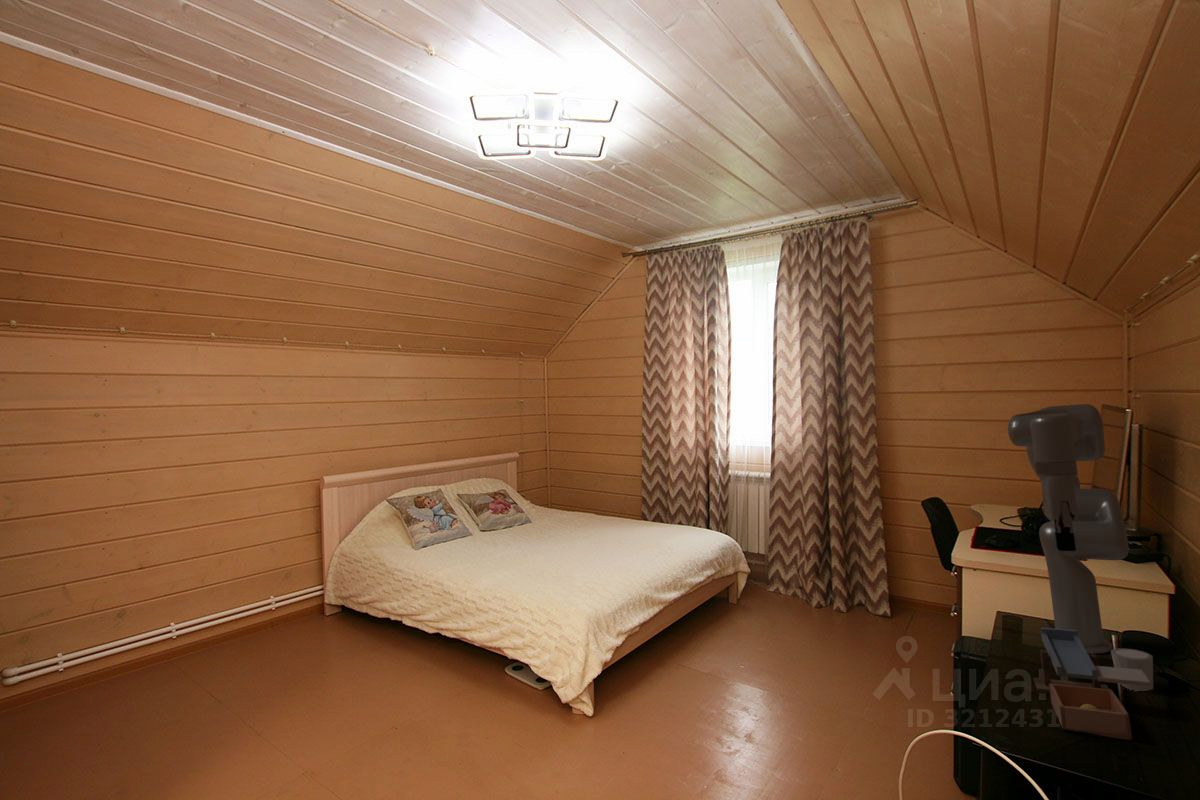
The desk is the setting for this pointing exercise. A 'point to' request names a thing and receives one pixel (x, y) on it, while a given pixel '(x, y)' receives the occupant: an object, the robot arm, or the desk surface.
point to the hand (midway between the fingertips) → (1066, 549)
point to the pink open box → (1090, 711)
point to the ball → (1088, 707)
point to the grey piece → (1083, 660)
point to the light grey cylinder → (1134, 665)
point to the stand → (1043, 684)
